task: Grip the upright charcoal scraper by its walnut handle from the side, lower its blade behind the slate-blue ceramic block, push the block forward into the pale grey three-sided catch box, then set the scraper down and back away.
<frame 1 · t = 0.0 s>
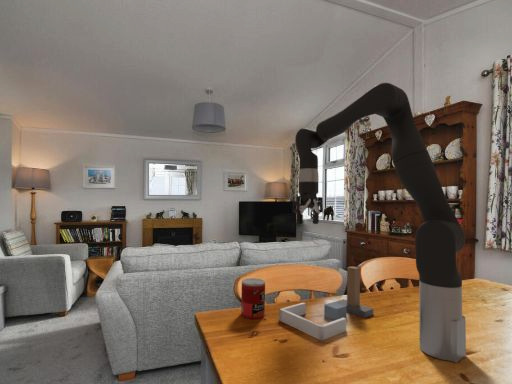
hand: (308, 224, 111), 29 cm above the table, tool pointing down, fingers open, 8 cm apart
catch box: (311, 325, 89), on the table
ceramic block: (335, 317, 96), on the table
canned food: (252, 315, 97), on the table
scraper: (353, 311, 102), on the table
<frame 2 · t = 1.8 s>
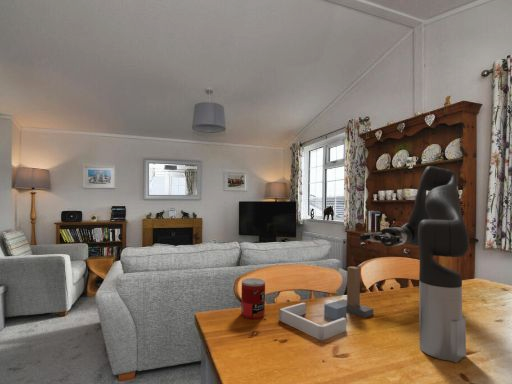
hand: (371, 239, 110), 24 cm above the table, tool horizontal, fingers open, 8 cm apart
nothing on the table moved.
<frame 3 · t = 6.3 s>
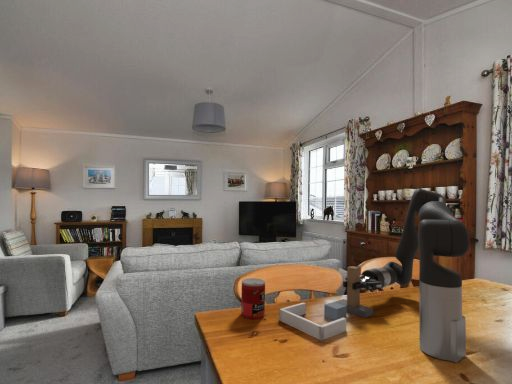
hand: (348, 285, 101), 9 cm above the table, tool horizontal, fingers closed on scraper, 3 cm apart
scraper: (353, 310, 102), on the table, touching gripper
everything else where it was.
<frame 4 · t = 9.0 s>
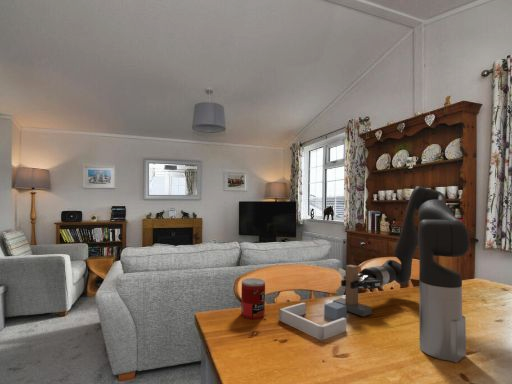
hand: (346, 284, 100), 10 cm above the table, tool horizontal, fingers closed on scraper, 3 cm apart
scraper: (351, 309, 102), point 1 cm above the table, touching gripper
everything else where it was.
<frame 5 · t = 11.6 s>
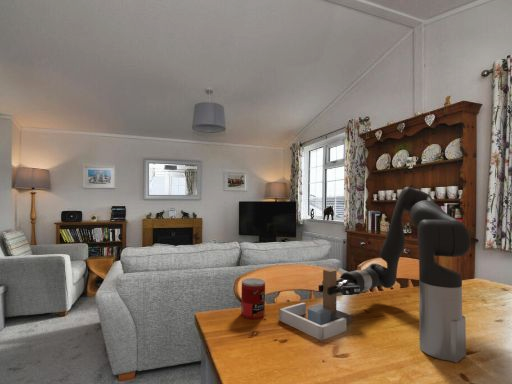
hand: (323, 290, 93), 10 cm above the table, tool horizontal, fingers closed on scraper, 3 cm apart
ceramic block: (319, 322, 91), on the table, touching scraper
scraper: (329, 317, 94), point 1 cm above the table, touching ceramic block, gripper
everything else where it was.
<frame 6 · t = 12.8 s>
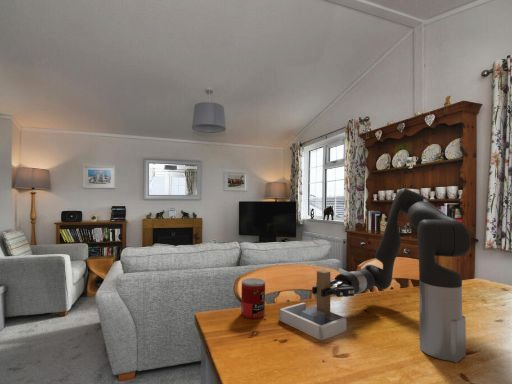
hand: (317, 291, 91), 10 cm above the table, tool horizontal, fingers closed on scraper, 3 cm apart
ceramic block: (312, 325, 90), on the table
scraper: (323, 319, 93), point 1 cm above the table, touching gripper
everything else where it was.
when the fingers open (10 cm above the table, at t = 15.2 s): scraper drops 1 cm, on the table.
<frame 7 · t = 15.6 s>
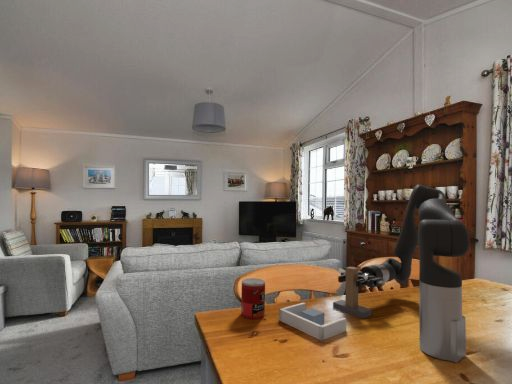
hand: (347, 281, 101), 10 cm above the table, tool horizontal, fingers open, 6 cm apart
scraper: (351, 311, 102), on the table
everything else where it was.
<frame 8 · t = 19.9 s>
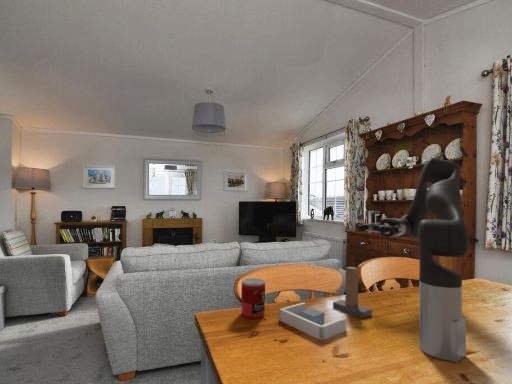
hand: (369, 228, 109), 28 cm above the table, tool horizontal, fingers open, 8 cm apart
nothing on the table moved.
at the end: ceramic block inside the target area on the catch box (0.4 cm from its centre), point 0.0 cm above the catch box's base; ceramic block moved 10.9 cm from its start; the gripper is holding nothing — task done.
